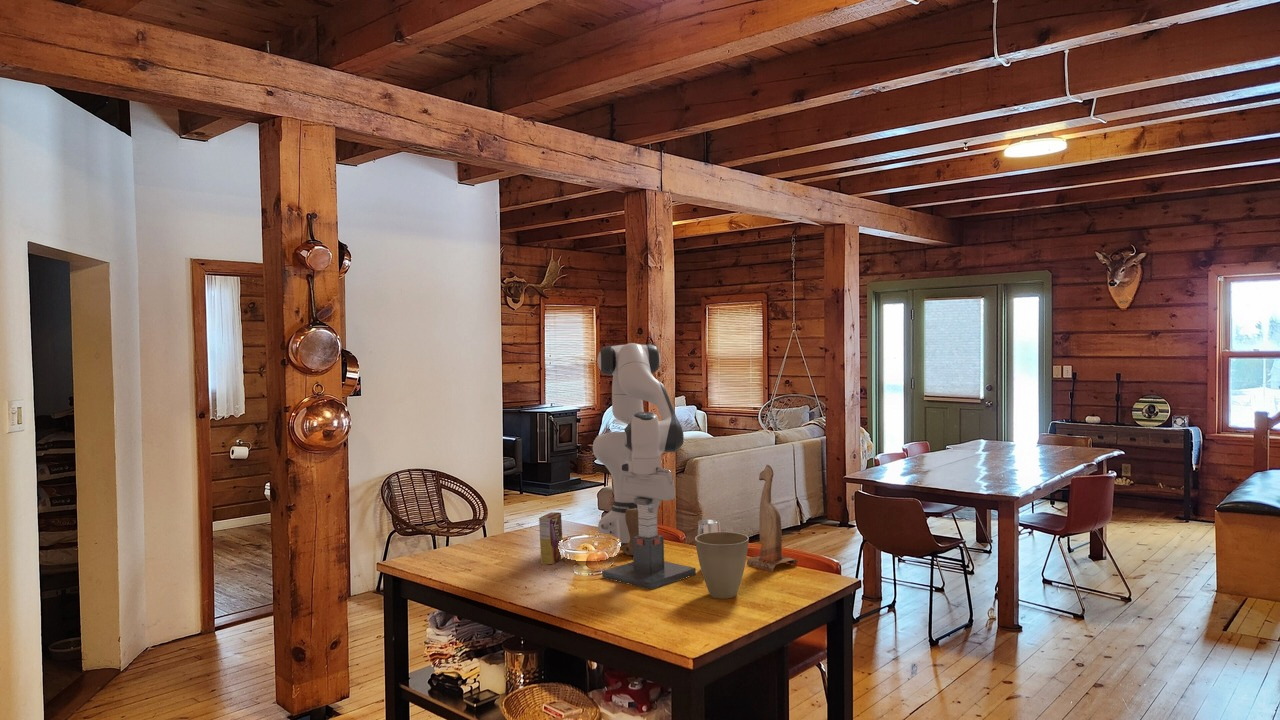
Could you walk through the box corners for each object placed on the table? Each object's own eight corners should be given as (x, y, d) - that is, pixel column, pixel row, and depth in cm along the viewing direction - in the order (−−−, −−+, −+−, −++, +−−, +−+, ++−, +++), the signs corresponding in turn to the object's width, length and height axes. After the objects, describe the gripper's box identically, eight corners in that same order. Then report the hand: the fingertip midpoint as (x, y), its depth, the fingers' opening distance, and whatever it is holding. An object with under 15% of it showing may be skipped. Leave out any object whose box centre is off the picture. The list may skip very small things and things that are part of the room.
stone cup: (643, 544, 288) (642, 502, 288) (667, 550, 280) (666, 506, 279) (611, 553, 278) (610, 508, 277) (635, 559, 269) (634, 513, 269)
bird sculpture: (769, 559, 265) (764, 461, 265) (798, 565, 256) (793, 463, 256) (746, 566, 258) (740, 465, 258) (774, 572, 249) (769, 467, 249)
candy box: (552, 557, 274) (550, 511, 274) (563, 558, 272) (562, 512, 272) (539, 564, 265) (538, 517, 265) (551, 565, 264) (550, 517, 264)
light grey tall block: (635, 562, 247) (633, 498, 247) (651, 557, 252) (649, 495, 252) (646, 564, 244) (644, 500, 244) (661, 559, 249) (660, 496, 249)
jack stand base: (602, 577, 248) (601, 537, 248) (647, 563, 262) (646, 526, 262) (650, 589, 234) (649, 547, 234) (695, 574, 249) (694, 535, 248)
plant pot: (687, 591, 232) (686, 535, 232) (734, 584, 237) (733, 529, 237) (710, 606, 218) (709, 546, 218) (759, 599, 223) (758, 540, 223)
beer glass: (713, 574, 249) (712, 524, 249) (694, 570, 253) (693, 522, 253) (725, 568, 254) (724, 520, 254) (706, 565, 259) (705, 518, 258)
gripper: (679, 468, 243) (680, 514, 243) (629, 462, 257) (631, 506, 257) (665, 470, 238) (666, 518, 239) (615, 464, 252) (616, 509, 253)
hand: (647, 512), depth 248 cm, fingers closed on light grey tall block, 4 cm apart
